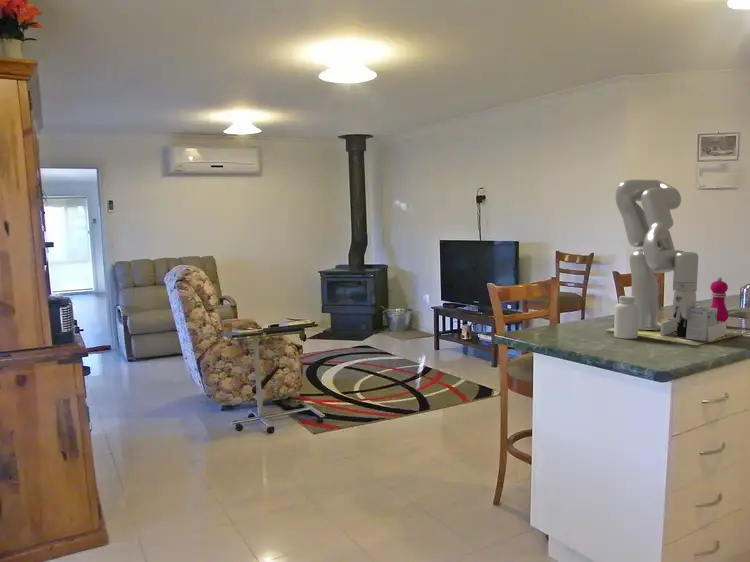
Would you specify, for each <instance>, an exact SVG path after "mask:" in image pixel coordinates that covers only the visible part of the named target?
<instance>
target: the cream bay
mask: <svg viewBox="0 0 750 562" xmlns="http://www.w3.org/2000/svg"><path fill="white" fill-rule="evenodd" d="M675 320H676V318H672V319H668V320H664V321H660V326H661V329H660V336H661V337H664V336H667V335H670V334H672V333H671V332H674V331H677V322H675ZM726 323H727V322H726V321H725V322H720V321H716V325H713V326H710V327H708V340H707V341H706V342H709V343H710V342H712V341H713V342H714V341H715V339H716V340H718V339H720V338H719V337H720V336H722V335H724V334H726V335H727V327H726ZM669 333H670V334H669ZM674 333H675V332H674ZM666 334H667V335H666ZM717 338H718V339H717Z"/></svg>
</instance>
